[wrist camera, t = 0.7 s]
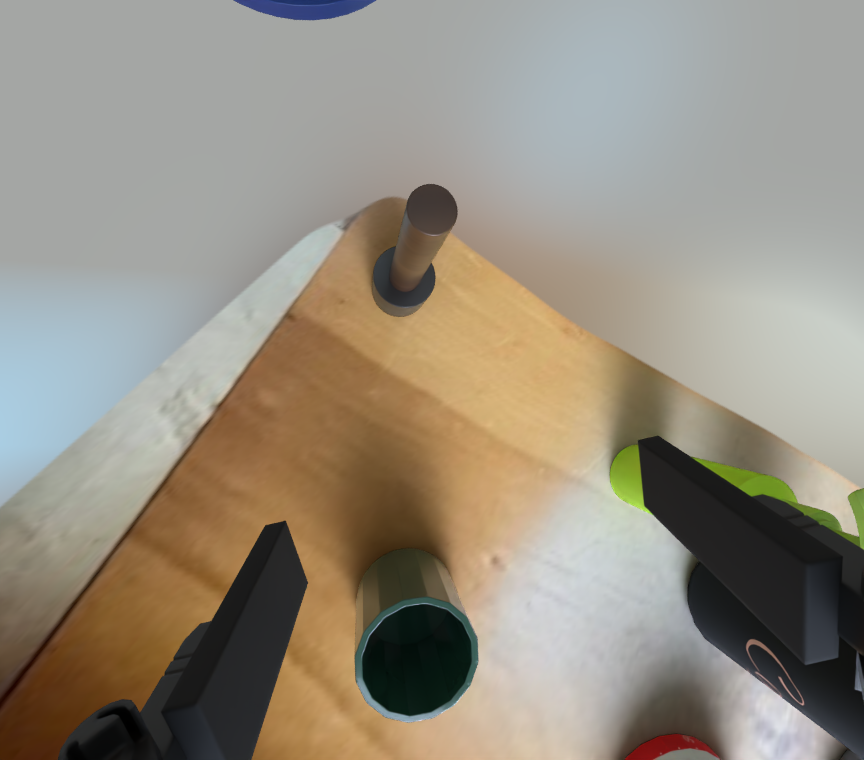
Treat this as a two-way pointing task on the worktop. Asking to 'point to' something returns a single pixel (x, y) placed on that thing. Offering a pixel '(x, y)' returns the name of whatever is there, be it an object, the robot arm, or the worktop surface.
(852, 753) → the liquor
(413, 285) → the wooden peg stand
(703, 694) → the worktop surface
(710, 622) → the coffee jar
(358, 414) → the worktop surface
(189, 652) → the robot arm
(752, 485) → the soap dispenser
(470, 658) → the teal faceted cup
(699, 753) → the kitchen timer
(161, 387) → the worktop surface
